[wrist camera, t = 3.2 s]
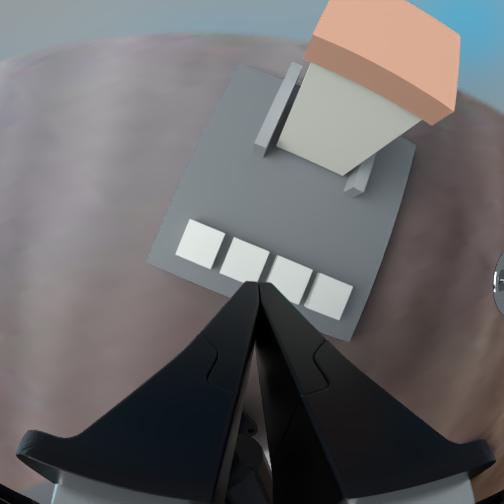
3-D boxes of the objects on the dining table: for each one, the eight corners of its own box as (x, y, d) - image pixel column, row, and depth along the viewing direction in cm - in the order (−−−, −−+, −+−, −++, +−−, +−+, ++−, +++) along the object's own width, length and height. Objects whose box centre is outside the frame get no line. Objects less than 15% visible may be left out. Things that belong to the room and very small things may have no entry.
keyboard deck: (343, 338, 23) (359, 350, 20) (150, 261, 22) (138, 262, 19) (410, 144, 23) (430, 132, 20) (241, 67, 23) (243, 44, 19)
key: (344, 181, 21) (454, 111, 9) (270, 148, 21) (312, 34, 9) (363, 127, 22) (460, 35, 9) (293, 95, 21) (343, -29, 9)
